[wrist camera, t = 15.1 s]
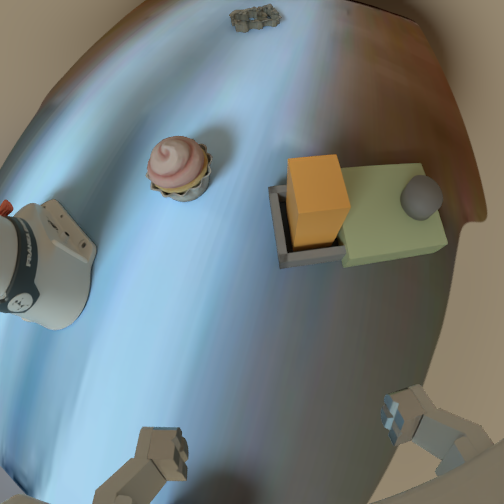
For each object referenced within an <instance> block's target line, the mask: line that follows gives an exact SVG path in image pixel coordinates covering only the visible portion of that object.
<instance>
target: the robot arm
mask: <svg viewBox="0 0 504 504" xmlns="http://www.w3.org/2000/svg"><path fill="white" fill-rule="evenodd" d="M12 211H13V206H12V204H11V203H10V202H9V201H8V200H4V201H3V202H2V204H1V206H0V312H3V313H11V314H14V315H16V316H19V317H21V318H22V319H23V320H24V321H27V322H35V323H37V324H39V325H41V326H43V327H45V328H47V329H51V330H60V329H63V328H65V327H67V326H69V325H70V324H72V323H73V322H74V321H75V320H76V319H77V317H78V316H79V315H80V313H81V312H82V310H83V308H84V306H85V303H86V301H87V297H88V293H89V288H90V272H91V266H92V263H93V261H94V258H95V255H96V246H95V244H94V243H93V242H92V241H91V240H90V239H89V237H88V236H87V235H86V234H85V233H84V232H83V230H82V229H81V228H80V227H79V226H78V225H77V223H76V222H75V221H74V220H73V219H72V217H71V216H70V215H69V214H68V213H67V211H66V210H65V209H64V208H63V206H62V205H61V204H60V203H59V202H58V201H57V200H55V199H53V200H49V201H47V202H45V203H43V204H42V205H38V204H36V203H30V204H27V205H26V206H24V207H23V208H21V209H20V210H19V211H18V212H17V213H16V214H15V215H14V216H13V217H10V216H8V214H10V213H11V212H12ZM85 244H86V246H85V247H84V245H85ZM384 402H385V405H384V406H383V407H382V409H381V419H382V423H383V425H384V427H385V428H387V429H389V430H390V431H389V437H390V439H391V441H392V443H393V445H394V446H397V445H400V444H402V443H405V442H408V441H411V440H412V442H414V443H415V444H417V445H418V446H420V447H421V448H423V449H425V450H426V451H428V452H429V453H431V454H432V455H434V456H436V457H437V458H439V459H441V460H442V461H441V463H440V464H439V466H438V467H437V468H436V471H435V472H436V474H437V476H438V477H436V478H434V479H432V480H430V481H427V482H425V483H423V484H421V485H418V486H416V487H414V488H411V489H409V490H407V491H404V492H401V493H399V494H396V495H394V496H391V497H388V498H385V499H383V500H380V501H377V502H374V503H371V504H504V439H502V440H501V441H499V442H498V443H496V444H495V445H494V443H493V442H492V440H491V439H490V438H489V436H488V435H487V433H486V432H485V431H484V429H483V428H482V426H481V425H479V424H476V423H474V422H471V421H469V420H467V419H464V418H462V417H459V416H457V415H455V414H452V413H450V412H448V411H446V410H443V409H441V408H438V409H437V408H436V407H435V405H434V404H433V402H432V401H431V400H430V398H429V397H428V395H427V394H426V392H425V391H424V389H423V388H422V387H421V385H419V384H417V385H414V386H411V387H408V388H404V389H401V390H398V391H395V392H392V393H389V394H387V395H386V396H385V398H384ZM187 460H188V445H187V441H186V439H185V438H184V437H182V431H181V429H180V427H142V428H141V430H140V434H139V438H138V443H137V447H136V452H135V457H134V458H130V459H129V460H128V461H127V462H126V463H125V464H124V465H123V466H122V467H121V468H120V469H119V470H118V471H116V472H115V473H114V474H113V475H112V476H111V477H110V478H109V479H108V480H107V481H105V482H104V483H103V484H102V485H101V486H100V487H99V488H98V489H96V491H95V495H94V499H93V503H92V504H150V502H151V501H152V500H153V499H154V497H155V496H156V495H157V494H158V492H159V491H160V490H161V488H162V487H163V486H164V485H165V483H166V481H187V469H188V468H187V466H186V464H185V462H186V461H187ZM1 504H49V503H47V502H44V501H41V500H38V499H35V498H33V497H30V496H28V495H25V494H17V495H15V496H13V497H11V498H9V499H7V500H6V501H4V502H2V503H1Z"/></svg>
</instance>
